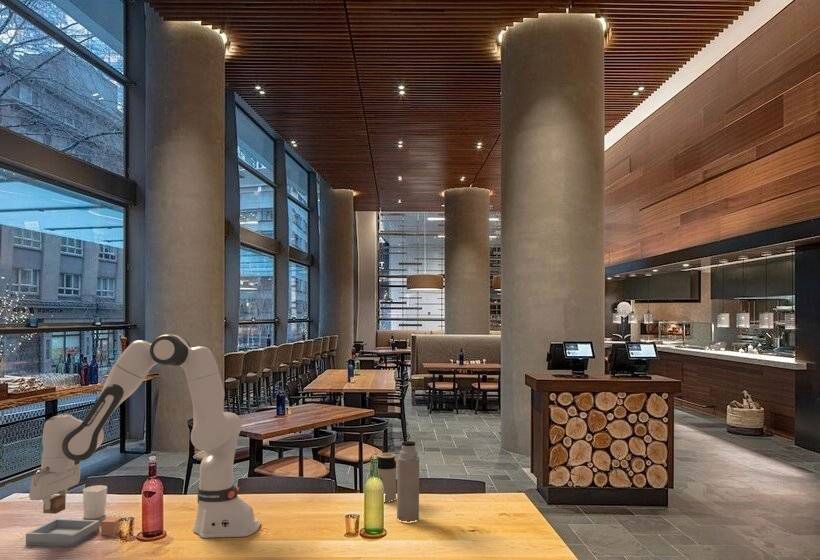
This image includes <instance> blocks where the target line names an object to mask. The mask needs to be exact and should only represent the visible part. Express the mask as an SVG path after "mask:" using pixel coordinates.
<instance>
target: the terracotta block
mask: <svg viewBox="0 0 820 560" xmlns="http://www.w3.org/2000/svg"><path fill="white" fill-rule="evenodd" d="M120 519H122V520H123V517H116V516H109V517H107V518H106V519H103V520H102V521H101V527H100V528H101V529H100V530H101V532H100V535H101V536H115V535H117V534H119V533H118V531H119V520H120Z"/></svg>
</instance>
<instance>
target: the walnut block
mask: <svg viewBox="0 0 820 560" xmlns="http://www.w3.org/2000/svg"><path fill="white" fill-rule="evenodd" d="M66 496H67V495H66ZM66 496H61V495H59V494H58V495H57V494H56V495H55V494H54V495H51V499H50V502H51V503H53V505H52V508H51V509H49V510H45V508H44V507H45V504H44V503H43V507H42V508H43V509H42V510H43V511H42V514H52V515H53V514H55V515H57V514H59V513H61V512H62V511H65V510H66V499H67V497H66Z"/></svg>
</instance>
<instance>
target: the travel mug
mask: <svg viewBox="0 0 820 560" xmlns="http://www.w3.org/2000/svg"><path fill="white" fill-rule="evenodd" d="M395 459H396V454H395V453H392V452H380V453H378V454H377V461H378V473H379V477H380V479H381V480H382V482H383V485H384V490H385V494H386V495H385V502H389V501H391V500H394V499H395V498H396V499H397V462H396V460H395Z"/></svg>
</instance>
